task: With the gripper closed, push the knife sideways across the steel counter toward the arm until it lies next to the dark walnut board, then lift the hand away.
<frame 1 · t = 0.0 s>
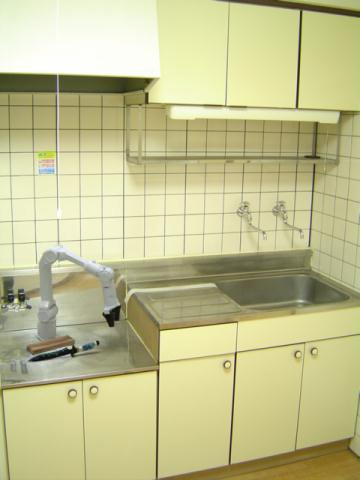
hand: (114, 323, 241), 11 cm above the countertop, tool pointing down, fingers open, 7 cm apart
knife: (64, 357, 230), on the countertop
walnut board: (51, 346, 240), on the countertop
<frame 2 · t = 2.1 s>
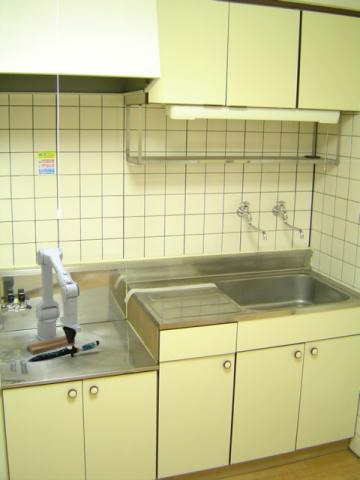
hand: (70, 343, 224), 8 cm above the countertop, tool pointing down, fingers closed
nothing on the countertop moved.
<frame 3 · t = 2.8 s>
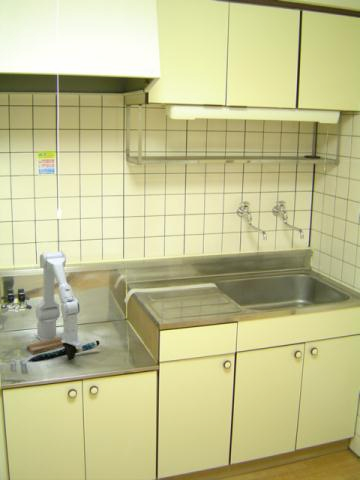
hand: (71, 359, 226), 1 cm above the countertop, tool pointing down, fingers closed
nothing on the countertop moved.
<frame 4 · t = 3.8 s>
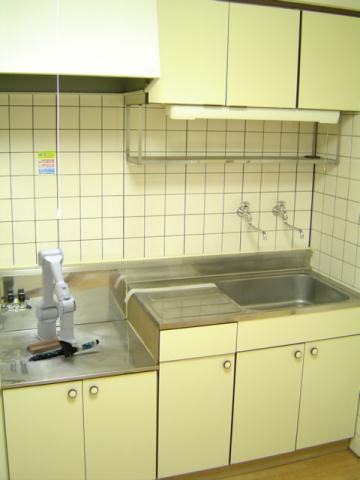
hand: (67, 356, 228), 1 cm above the countertop, tool pointing down, fingers closed, pressing on knife
knife: (64, 357, 230), on the countertop, touching gripper
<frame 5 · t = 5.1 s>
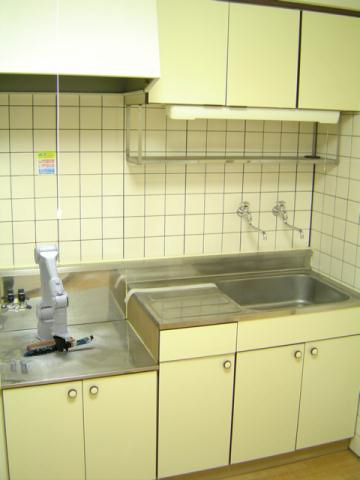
hand: (60, 351, 233), 1 cm above the countertop, tool pointing down, fingers closed, pressing on knife
knife: (59, 352, 234), on the countertop, touching gripper
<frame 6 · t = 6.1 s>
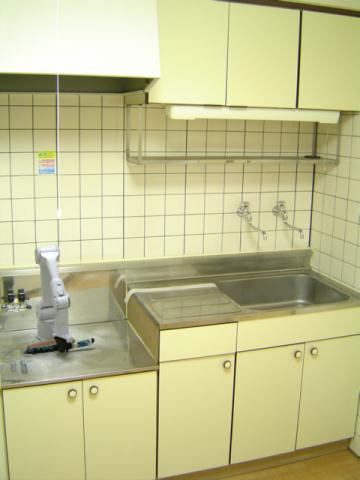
hand: (62, 352, 232), 1 cm above the countertop, tool pointing down, fingers closed
knife: (59, 352, 234), on the countertop
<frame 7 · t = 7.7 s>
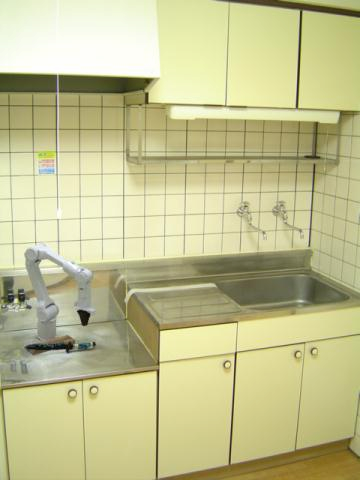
hand: (84, 325, 241), 9 cm above the countertop, tool pointing down, fingers closed
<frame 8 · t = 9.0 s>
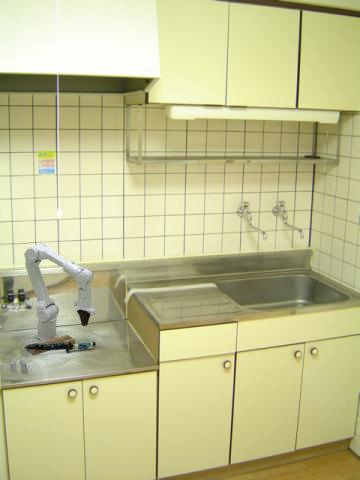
hand: (84, 325, 241), 9 cm above the countertop, tool pointing down, fingers closed
nothing on the countertop moved.
at the end: knife inside the target area (1.1 cm from its centre), point 0.5 cm above the countertop; knife moved 4.9 cm from its start; the gripper is holding nothing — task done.
